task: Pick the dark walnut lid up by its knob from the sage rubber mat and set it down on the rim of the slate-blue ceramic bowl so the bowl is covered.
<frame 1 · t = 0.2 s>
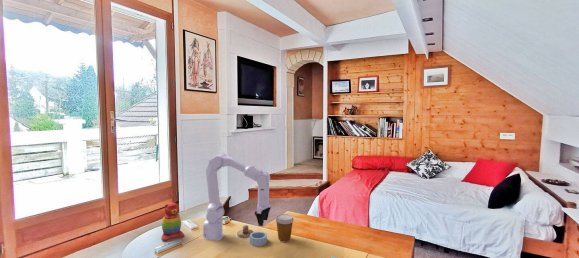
hand: (263, 222, 139), 10 cm above the table, fingers open, 7 cm apart
bowl: (258, 242, 138), on the table
disposable coffee cup: (284, 239, 143), on the table
stacking bear: (171, 236, 144), on the table
mat: (245, 235, 147), on the table
lid: (245, 234, 147), point 1 cm above the table, touching mat
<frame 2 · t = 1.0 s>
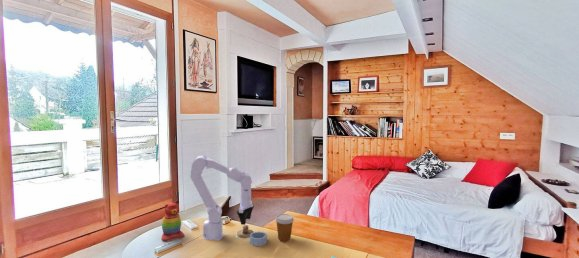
hand: (245, 221, 146), 7 cm above the table, fingers open, 7 cm apart
nothing on the table moved.
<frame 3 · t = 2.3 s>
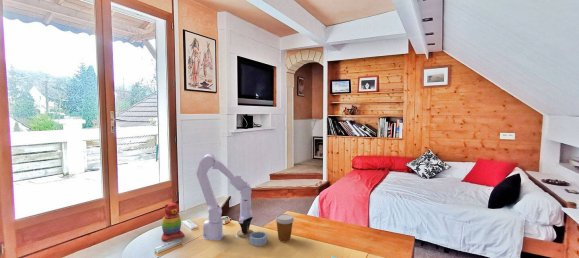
hand: (245, 231, 147), 2 cm above the table, fingers closed on lid, 3 cm apart
lid: (245, 234, 147), point 1 cm above the table, touching gripper, mat
everything else where it was.
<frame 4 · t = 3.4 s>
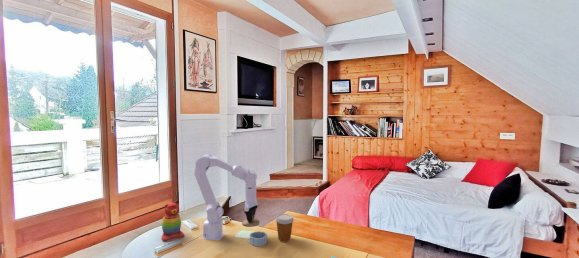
hand: (250, 220, 143), 10 cm above the table, fingers closed on lid, 3 cm apart
lid: (250, 223, 143), point 8 cm above the table, touching gripper
everything else where it was.
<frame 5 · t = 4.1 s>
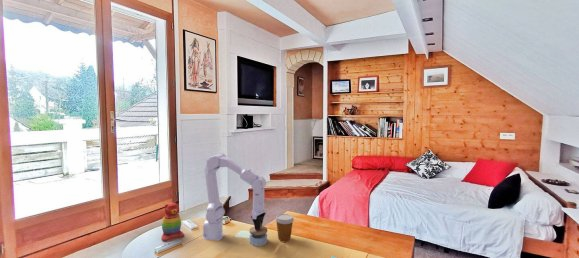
hand: (258, 228, 138), 8 cm above the table, fingers closed on lid, 3 cm apart
lid: (258, 231, 138), point 6 cm above the table, touching gripper
everything else where it was.
when the fingers open (7 cm above the table, at t = 4.6 s): lid stays where it is, resting on bowl.
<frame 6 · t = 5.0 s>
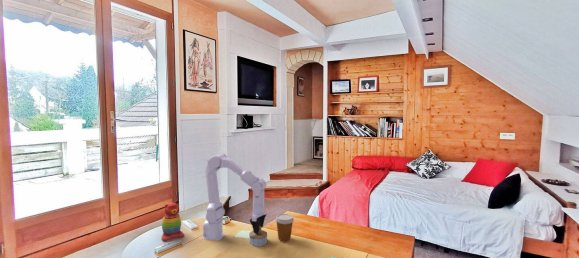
hand: (258, 230, 138), 7 cm above the table, fingers open, 7 cm apart
lid: (258, 235, 138), point 4 cm above the table, touching bowl
everything else where it was.
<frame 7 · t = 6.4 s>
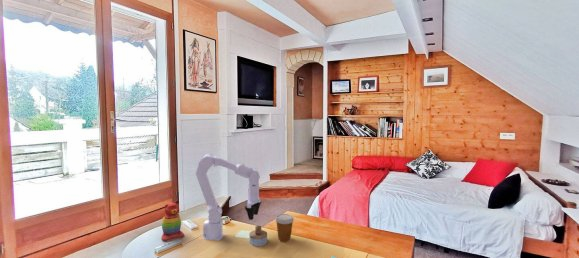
hand: (253, 216, 147), 10 cm above the table, fingers open, 7 cm apart
nothing on the table moved.
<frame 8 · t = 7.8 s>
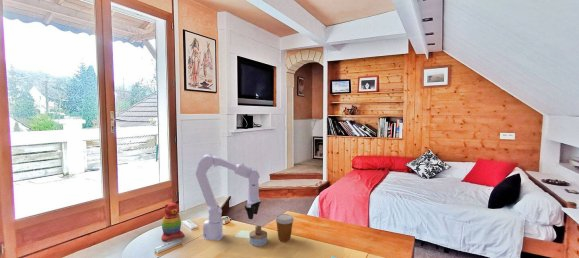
hand: (253, 216, 148), 10 cm above the table, fingers open, 7 cm apart
nothing on the table moved.
at the end: lid 0.1 cm off-centre on the bowl, point 4.0 cm above the bowl's base; lid tilted 0°; the gripper is holding nothing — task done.
